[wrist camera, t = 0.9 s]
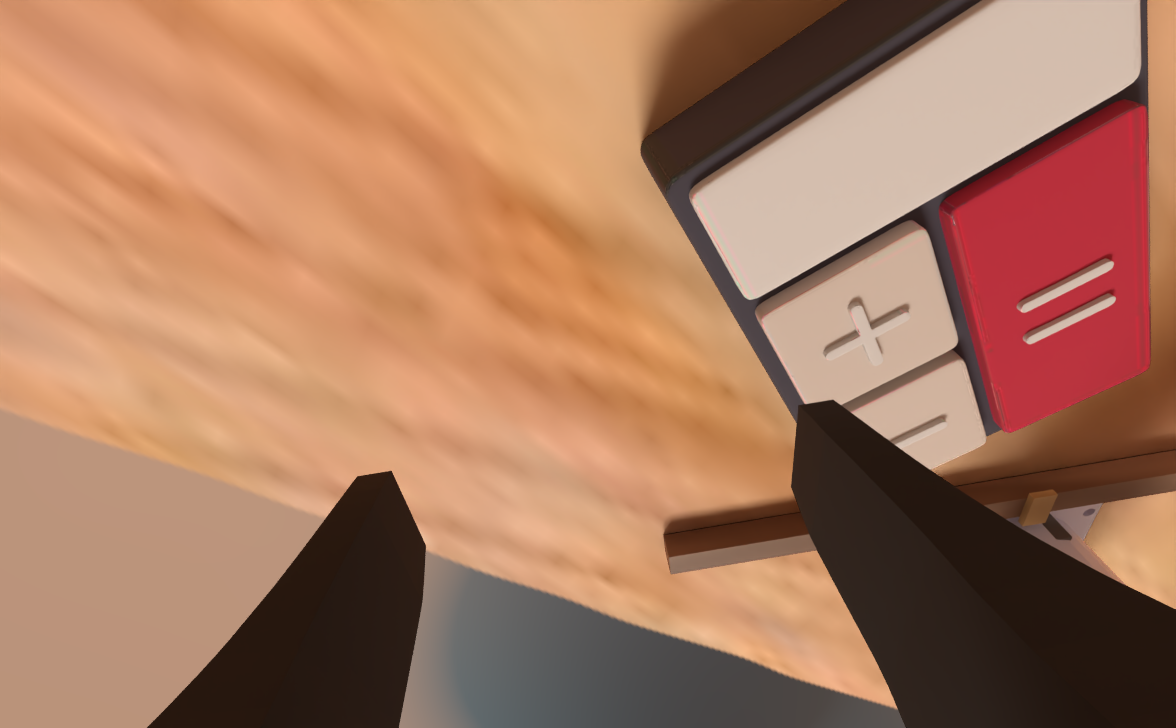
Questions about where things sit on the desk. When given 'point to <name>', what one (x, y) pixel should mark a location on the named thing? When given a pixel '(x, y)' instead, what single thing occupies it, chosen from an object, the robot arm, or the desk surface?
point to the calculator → (931, 211)
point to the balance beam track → (1003, 496)
